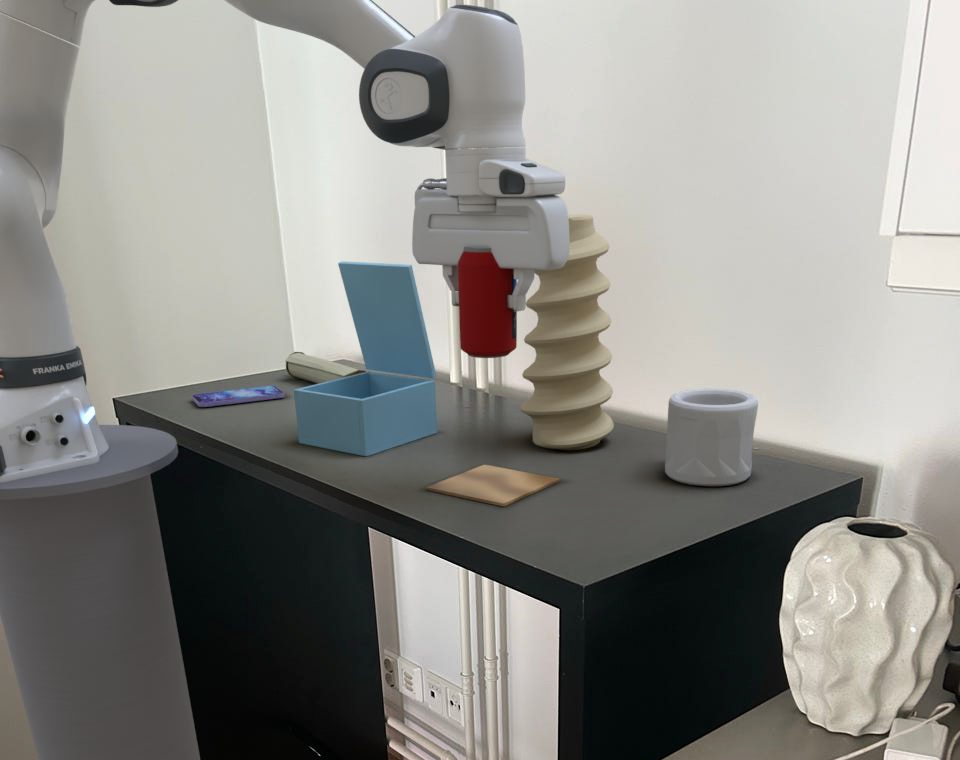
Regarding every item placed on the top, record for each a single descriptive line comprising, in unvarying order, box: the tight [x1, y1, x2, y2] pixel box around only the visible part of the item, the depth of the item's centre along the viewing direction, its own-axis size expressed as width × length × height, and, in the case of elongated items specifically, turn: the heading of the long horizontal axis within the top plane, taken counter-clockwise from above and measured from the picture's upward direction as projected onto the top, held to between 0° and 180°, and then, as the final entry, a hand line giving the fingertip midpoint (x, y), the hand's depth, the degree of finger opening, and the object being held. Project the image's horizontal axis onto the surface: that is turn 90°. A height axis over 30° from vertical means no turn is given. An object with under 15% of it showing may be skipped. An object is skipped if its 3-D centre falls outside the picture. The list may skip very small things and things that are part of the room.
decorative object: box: [520, 214, 615, 451], centre depth 137 cm, size 13×13×30 cm
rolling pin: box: [285, 351, 367, 384], centre depth 180 cm, size 32×6×5 cm, turn 34°
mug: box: [664, 388, 759, 487], centre depth 125 cm, size 14×11×10 cm
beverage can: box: [458, 247, 518, 359], centre depth 115 cm, size 7×7×12 cm
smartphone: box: [191, 384, 285, 408], centre depth 174 cm, size 7×1×15 cm
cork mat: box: [426, 464, 561, 508], centre depth 125 cm, size 12×12×1 cm
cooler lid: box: [337, 260, 437, 379], centre depth 145 cm, size 16×14×1 cm
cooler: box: [293, 371, 438, 457], centre depth 146 cm, size 16×14×8 cm
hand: (488, 308), depth 116 cm, fingers closed on beverage can, 7 cm apart
